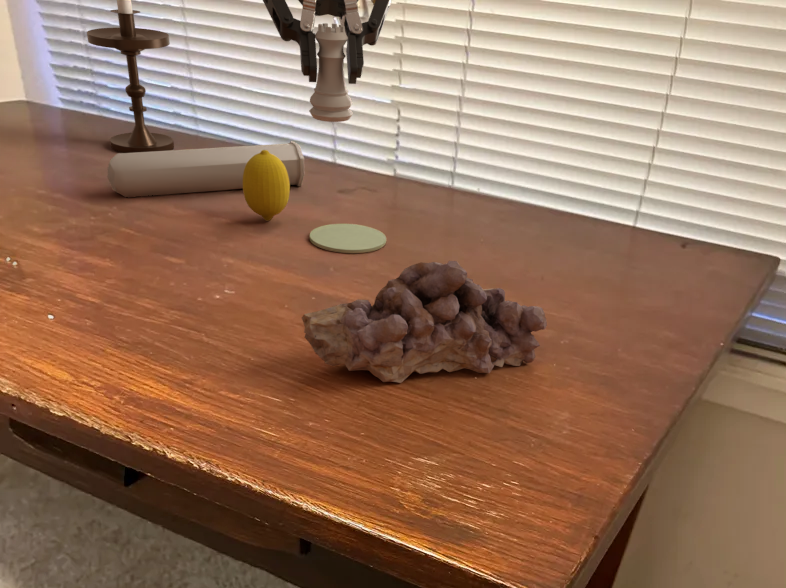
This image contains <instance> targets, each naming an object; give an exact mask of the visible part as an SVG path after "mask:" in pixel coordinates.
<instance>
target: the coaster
mask: <svg viewBox="0 0 786 588" xmlns="http://www.w3.org/2000/svg"><path fill="white" fill-rule="evenodd" d="M386 236H387V235H385V233H383V232H382V231H380V230H379V229H376V228H374V227H371V226H367V225H363V224H356V223H330V224H325V225H321V226H318V227H316V228H314V229H312V230H311V231H310V232H309V241H310V243H312V245H314V246H315V247H318V248H319V249H320V248H321V249H322V250H326V251H328V252H333V253H339V254H340V253H341V254H362V253H364V254H365V253H371V252H375V251H377V250H381V249H382V248H384V246H385V245H386V243H387V237H386Z"/></svg>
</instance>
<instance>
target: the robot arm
mask: <svg viewBox="0 0 786 588" xmlns="http://www.w3.org/2000/svg"><path fill="white" fill-rule="evenodd" d="M297 1H298V3H300V5H301V6H302V7H301V15H300V19H297V18H295V17H294V15H293V13H292V11H291V9H290V7H289V5H288V4H287V1H286V0H262V2H263V4H264V6H265V8H266V10H267V12H268V14H269V16H270V18H271V20H272V21H273V24H274V26H275V28H276V30H277V32H278V34H279V36H280V38H281V40H282V41H284V42H290V41H293V42H295V43H296V44H297V45H298V46H299V55H300V57H299V58H300V70H301V73H302V75H303V77H305V76H306V77H308V82H309V83H317V78H318V59H317V57H318V56H317V44H316V42H317V41H316V38H315V34H316V32H314V30H315V25H316V18H317V17H321V16H326V15H329V16H332V17H336V18H338V20H339V23H340V24H339V25H344V26H345V34H346V35H347V37H348V40H347V41H346V50H345V56H346V68H347V69H346V71H347V83H348V85H356V84H357V79H362V78H361V77H362V76H363V71H364V67H365V66H364V65H365V61H364V47H363V46H365V45H369V46H371V47H373V46H376V44H377V43H378V41H379V38H380V35H381V32H382V30H383V27H384V24H385V21H386V19H387V17H388V13H389V11H390V7H391V5H392V1H393V0H370V1H371V3H372V6H373V7H372V9H371V11H370V14H369V18H368V20H367V21H365V22H362V20H361V16H360V14H359V6H358V2H359V1H360V0H297Z"/></svg>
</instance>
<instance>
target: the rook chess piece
mask: <svg viewBox="0 0 786 588" xmlns="http://www.w3.org/2000/svg"><path fill="white" fill-rule="evenodd" d="M347 40H348V37H347V35H346V34H345V26H344V25H341V24H337V23H331V26H329V24H328V23H327V22H324V23H318V24H317V31H316V32H315V41H316V42H317V44H318V52H316V56H317V57H318V69H317V80H316V84H315V88H313V91H314V92H313V93H312V94H311V96H310V97H309V103H310V104H311V106H312V107H311V108H310V109H309V111H308V112H309V113H310V115H311V117H312V118H313V119H314V120H316V121H320V122H328V123H341V122H347V121H349V120H350V119H351V117H352V116H353V114H354V112H353V111H352V110H351V109H350V108H351V107H352V105H353V100H352V98H351V97H350V95H349V90H348V89H347V85H346V78H345V67H344V65H345V64H344V62H345V60H344V59H345V58H347V56H346V53H345V51H344V47H345V45H346V44H347Z"/></svg>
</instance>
